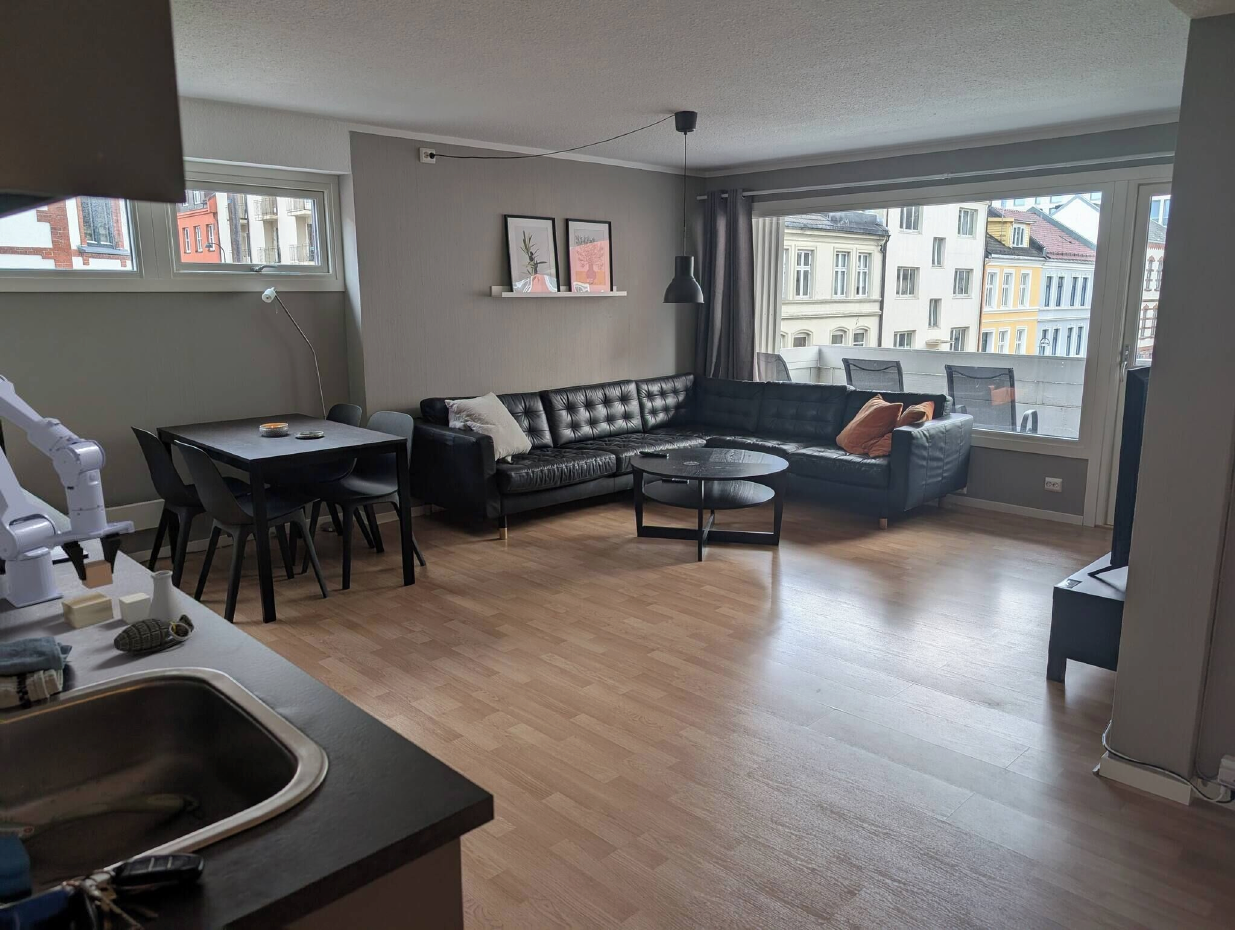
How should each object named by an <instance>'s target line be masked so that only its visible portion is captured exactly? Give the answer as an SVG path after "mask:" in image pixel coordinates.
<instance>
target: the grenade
mask: <svg viewBox="0 0 1235 930" xmlns="http://www.w3.org/2000/svg"><path fill="white" fill-rule="evenodd" d="M194 630H195V626H194V624H193V622H192V621H191V620H190V619H189V618H188V616H187V615H185V614H183V615H181V617H180V619H179V621H178V622H167V621H161V619H158V618H152V619H145V620H142V621H138V622H134V623H131V625H130V624H129V626H127V627H125V628H124V629H123V630H122V631H121V632H120V633H118V634H117V636H116V637H114V639H113V645H114V648H115V650H116V651H120V652H122V653H129V654H132V658H134V657H139V656H144V655H149V654H154V653H157V652H159V651H162V649H163V650H165V649H167V648H171V647H172V645H173V646H175V645H177V644H179V643H181V642H182V641H187V640H188V639H189V638H190V637H191V635H192V633H193V631H194ZM169 638H172V639H175V640H174V641H172V642H170V643H168V644H166V643H167V641H168V640H169ZM178 642H179V643H178ZM176 643H177V644H176ZM174 644H175V645H174ZM170 646H171V647H170ZM153 652H154V653H153Z"/></svg>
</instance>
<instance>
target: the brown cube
mask: <svg viewBox="0 0 1235 930" xmlns="http://www.w3.org/2000/svg"><path fill="white" fill-rule="evenodd" d="M84 566H85V571H86V580H85V581H82V580H81V585H83V586H84V587H85V588H86V589H88V590H92V589H97V588H100V587H104V586H108V585H112V584H114V581H113V579H114V578H113V574H112V572H111V565H110V563H109V562H107V561H105V560H104V558H103V559H98V560H92V561H89V562H84Z"/></svg>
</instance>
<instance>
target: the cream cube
mask: <svg viewBox="0 0 1235 930" xmlns="http://www.w3.org/2000/svg"><path fill="white" fill-rule="evenodd" d="M151 603H152V598H151V596H149V595H148V594H146V593H144V592H142V591H140V592H138V593H134V594H133V593H132V594H129V595H126V596H122V597H121V596H120V597H118V604H119V605H118V606H119V612H120V618H121V619H122V620H123V621H124V622H126V623H128V624H129V625H130V623H131V624H134V623H137V622H140V621H141V620H146V619H147V618H148V614H149V611H150V607H151Z"/></svg>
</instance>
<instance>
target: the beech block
mask: <svg viewBox="0 0 1235 930" xmlns="http://www.w3.org/2000/svg"><path fill="white" fill-rule="evenodd" d="M61 607H62V612H63V617H64V622H65V623H68V624H69V625H70V626H72V627H74V628H75V629H81V628H85V627H88V626H89V627H90V626H93V625H95V624H100V623H102V622H103V623H104V622H106V621H110V620H114V619H115V617H114V612H113V611H114V610H113V609H114V608H113V602H112V598H111V597H108V596H107V595H104V594H103V593H100V592H99V591H96V592H92V593H88V594H85V595H81V596H76V597H73V598H69V599H66V600H61Z"/></svg>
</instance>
